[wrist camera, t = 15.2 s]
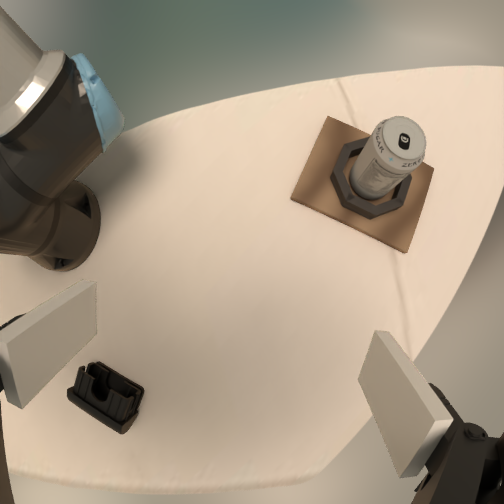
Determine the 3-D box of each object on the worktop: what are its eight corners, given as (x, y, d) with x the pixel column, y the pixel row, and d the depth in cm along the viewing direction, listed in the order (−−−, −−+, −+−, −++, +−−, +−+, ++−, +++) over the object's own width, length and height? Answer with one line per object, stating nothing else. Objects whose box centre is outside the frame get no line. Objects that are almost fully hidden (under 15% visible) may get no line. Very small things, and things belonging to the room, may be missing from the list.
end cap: (85, 392, 45) (63, 404, 38) (95, 358, 45) (72, 367, 38) (135, 424, 44) (117, 441, 37) (148, 390, 44) (129, 404, 37)
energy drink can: (391, 168, 43) (433, 123, 28) (383, 207, 42) (428, 173, 27) (352, 155, 43) (381, 103, 28) (343, 193, 43) (372, 152, 28)
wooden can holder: (290, 199, 45) (291, 190, 40) (326, 119, 45) (330, 105, 41) (404, 253, 43) (415, 250, 38) (431, 170, 43) (442, 161, 39)
